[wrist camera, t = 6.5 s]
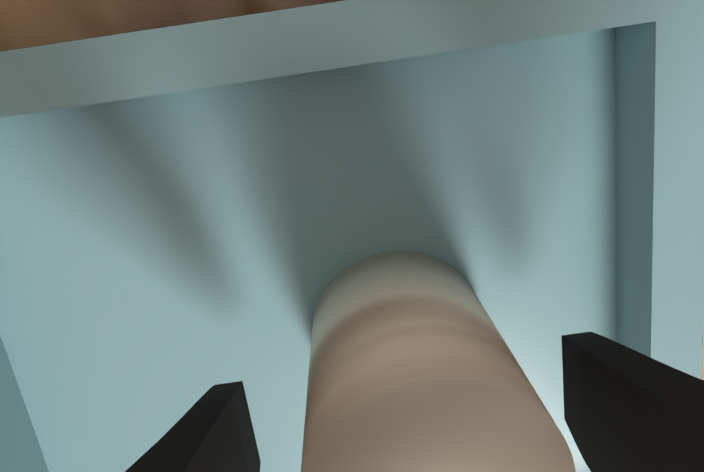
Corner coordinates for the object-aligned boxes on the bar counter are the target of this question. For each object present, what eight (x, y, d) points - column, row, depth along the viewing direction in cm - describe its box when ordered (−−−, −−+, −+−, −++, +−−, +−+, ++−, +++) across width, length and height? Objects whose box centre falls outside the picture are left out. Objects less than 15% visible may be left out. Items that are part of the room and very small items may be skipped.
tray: (643, 522, 18) (691, 593, 16) (74, 600, 18) (35, 682, 16) (650, -36, 13) (720, -56, 11) (-121, 79, 13) (-218, 84, 11)
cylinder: (487, 394, 15) (577, 591, 10) (324, 416, 16) (319, 623, 10) (477, 239, 14) (574, 359, 8) (300, 262, 14) (277, 397, 8)
